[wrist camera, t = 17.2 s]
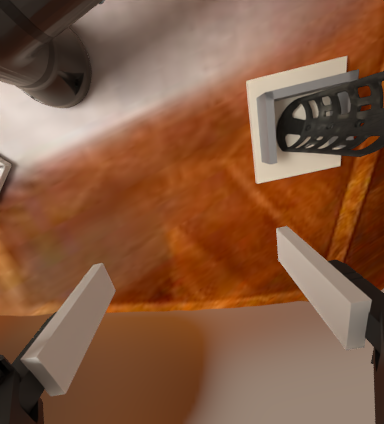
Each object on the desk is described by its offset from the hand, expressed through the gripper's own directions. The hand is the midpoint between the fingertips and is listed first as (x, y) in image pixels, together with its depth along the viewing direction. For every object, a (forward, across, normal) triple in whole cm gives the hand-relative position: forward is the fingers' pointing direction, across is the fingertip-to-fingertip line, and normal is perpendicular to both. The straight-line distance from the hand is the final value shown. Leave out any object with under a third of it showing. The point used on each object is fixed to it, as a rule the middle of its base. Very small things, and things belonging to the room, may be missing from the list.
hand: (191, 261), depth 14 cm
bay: (+35, +26, +6) cm, 44 cm away
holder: (+34, +26, +6) cm, 43 cm away
